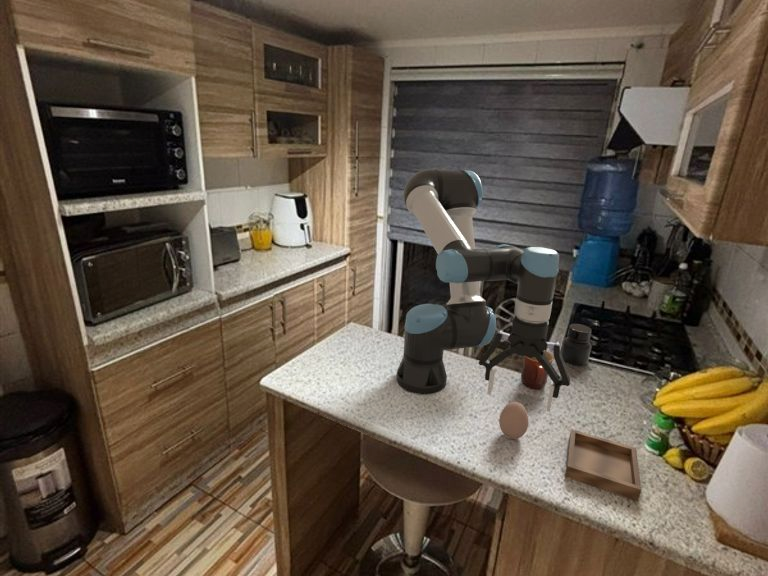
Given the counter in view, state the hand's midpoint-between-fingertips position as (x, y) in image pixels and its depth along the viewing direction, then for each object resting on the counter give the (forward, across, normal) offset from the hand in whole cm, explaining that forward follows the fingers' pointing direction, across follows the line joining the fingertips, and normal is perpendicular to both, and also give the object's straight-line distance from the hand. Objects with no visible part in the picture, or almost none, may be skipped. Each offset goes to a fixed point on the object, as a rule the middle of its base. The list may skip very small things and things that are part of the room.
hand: (518, 399), depth 100 cm
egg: (+11, 0, 0) cm, 11 cm away
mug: (+11, +2, +26) cm, 29 cm away
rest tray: (+11, +20, 0) cm, 23 cm away
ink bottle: (+11, +12, +51) cm, 54 cm away
